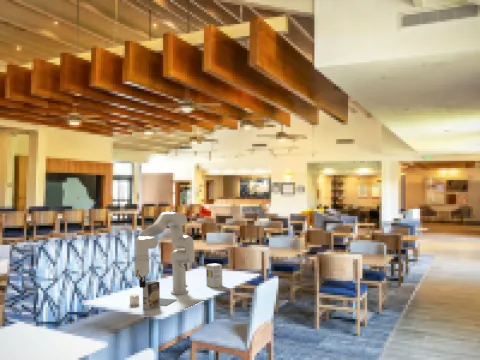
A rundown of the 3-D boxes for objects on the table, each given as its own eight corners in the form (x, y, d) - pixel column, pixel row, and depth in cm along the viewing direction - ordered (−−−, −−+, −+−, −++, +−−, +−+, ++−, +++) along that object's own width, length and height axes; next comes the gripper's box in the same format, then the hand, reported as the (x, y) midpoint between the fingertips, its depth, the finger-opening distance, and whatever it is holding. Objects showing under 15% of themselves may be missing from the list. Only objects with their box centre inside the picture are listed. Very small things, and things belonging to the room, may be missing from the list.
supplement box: (206, 285, 322) (205, 264, 323) (215, 283, 329) (214, 262, 329) (213, 287, 315) (213, 265, 316) (222, 285, 321) (222, 264, 322)
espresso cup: (133, 303, 277) (133, 294, 277) (140, 303, 275) (140, 294, 275) (128, 305, 271) (127, 296, 272) (135, 306, 269) (135, 296, 270)
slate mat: (156, 298, 287) (156, 298, 287) (177, 300, 282) (177, 299, 282) (145, 304, 273) (145, 303, 273) (166, 305, 268) (166, 305, 268)
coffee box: (148, 309, 260) (148, 284, 260) (142, 308, 264) (142, 283, 264) (160, 306, 267) (159, 281, 267) (153, 305, 271) (153, 280, 271)
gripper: (143, 256, 265) (143, 284, 264) (130, 259, 251) (130, 289, 250) (153, 256, 263) (154, 285, 262) (140, 260, 249) (141, 290, 248)
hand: (142, 287), depth 256 cm, fingers closed
